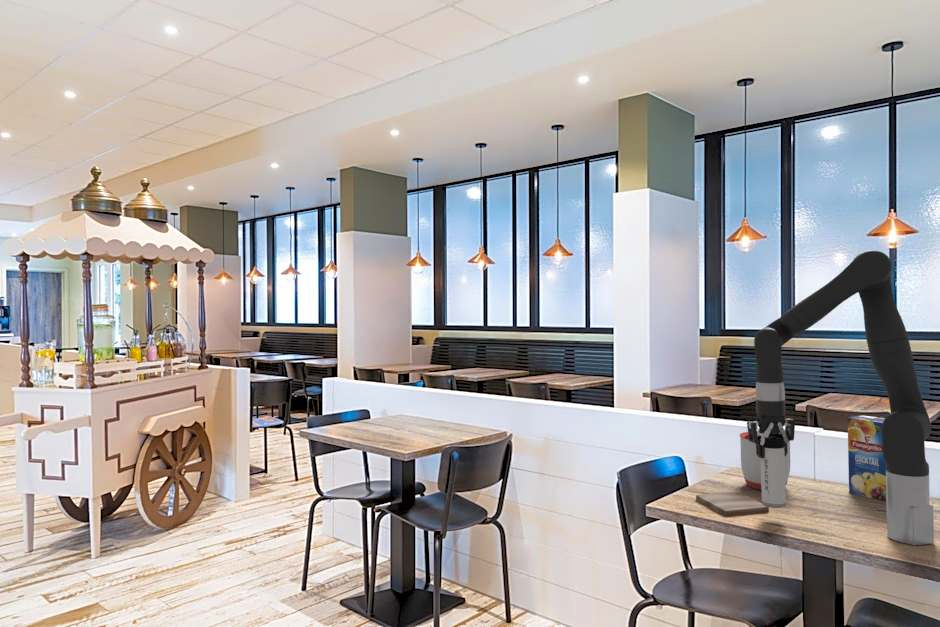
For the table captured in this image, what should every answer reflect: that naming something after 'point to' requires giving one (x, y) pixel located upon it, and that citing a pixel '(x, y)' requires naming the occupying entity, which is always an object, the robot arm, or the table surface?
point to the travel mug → (773, 473)
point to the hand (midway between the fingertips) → (772, 456)
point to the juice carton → (866, 457)
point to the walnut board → (732, 503)
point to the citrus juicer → (756, 462)
